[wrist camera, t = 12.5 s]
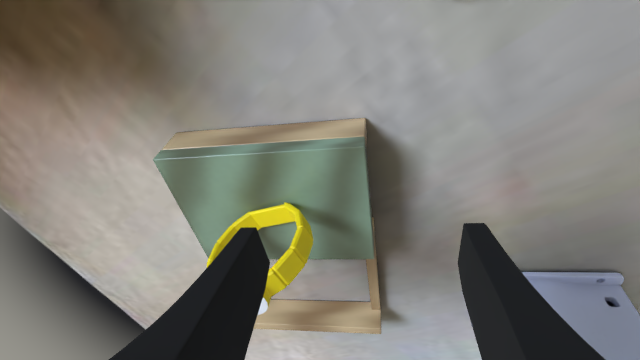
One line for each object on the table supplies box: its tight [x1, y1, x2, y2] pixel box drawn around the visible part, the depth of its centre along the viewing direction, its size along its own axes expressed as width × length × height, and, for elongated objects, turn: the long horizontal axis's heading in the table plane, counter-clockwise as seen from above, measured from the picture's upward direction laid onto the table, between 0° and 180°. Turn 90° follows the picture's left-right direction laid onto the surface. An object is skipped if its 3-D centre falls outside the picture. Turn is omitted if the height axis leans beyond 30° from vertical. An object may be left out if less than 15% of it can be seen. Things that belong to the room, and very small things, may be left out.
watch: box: [207, 202, 313, 315], centre depth 19 cm, size 6×3×6 cm, turn 116°
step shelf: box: [153, 118, 381, 334], centre depth 25 cm, size 12×20×3 cm, turn 9°
